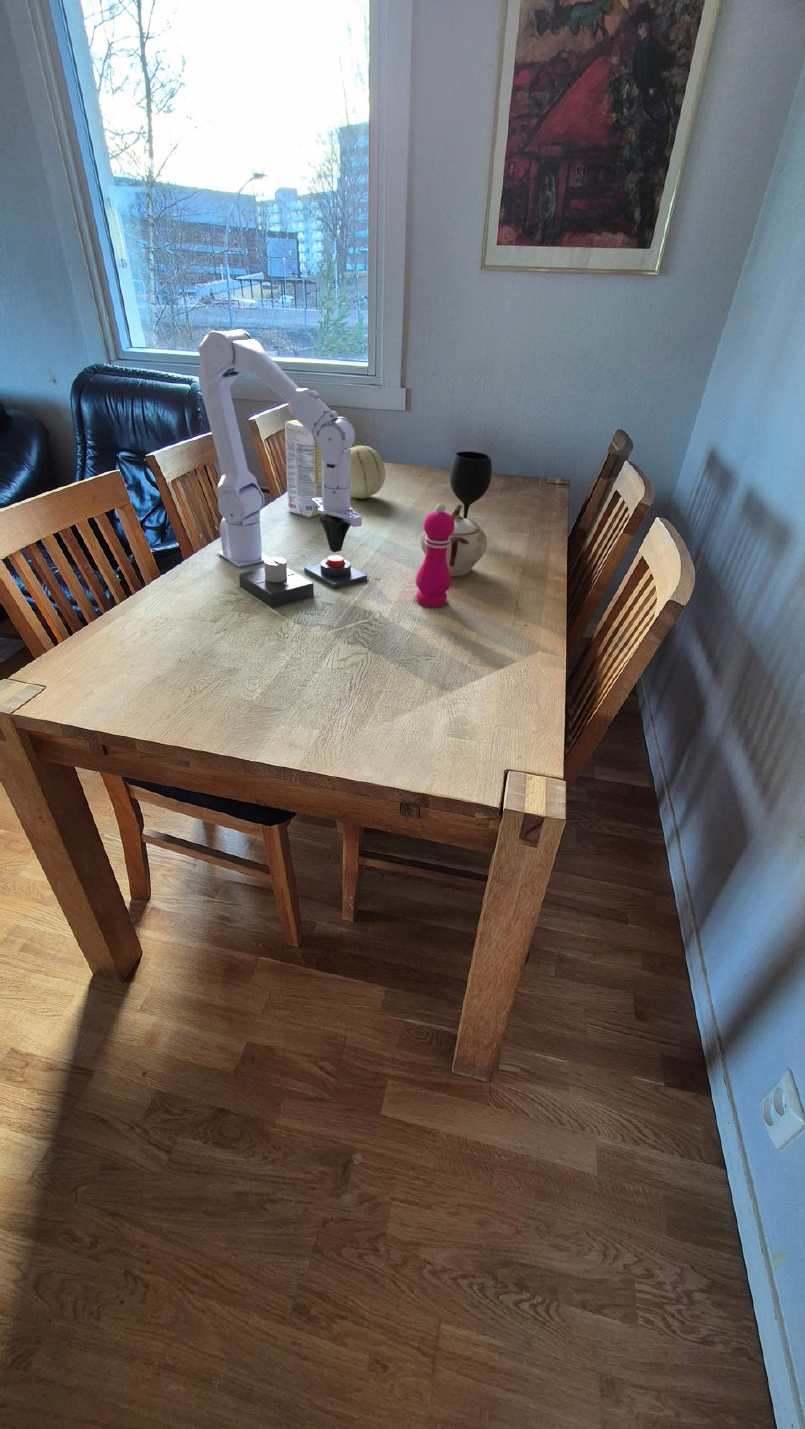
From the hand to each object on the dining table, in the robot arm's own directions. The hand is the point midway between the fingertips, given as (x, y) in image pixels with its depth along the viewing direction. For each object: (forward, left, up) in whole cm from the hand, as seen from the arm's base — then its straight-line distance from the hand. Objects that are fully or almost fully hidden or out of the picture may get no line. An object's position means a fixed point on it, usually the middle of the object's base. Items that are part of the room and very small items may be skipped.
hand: (335, 550), depth 131 cm
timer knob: (0, -15, -3) cm, 15 cm away
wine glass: (-4, +45, -6) cm, 46 cm away
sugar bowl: (+11, +25, -6) cm, 28 cm away
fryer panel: (0, -15, -6) cm, 16 cm away
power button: (0, 0, -3) cm, 3 cm away
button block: (0, 0, -6) cm, 6 cm away
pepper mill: (+21, +9, -6) cm, 24 cm away
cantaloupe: (-44, +42, -6) cm, 61 cm away
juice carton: (-40, +20, -6) cm, 45 cm away
